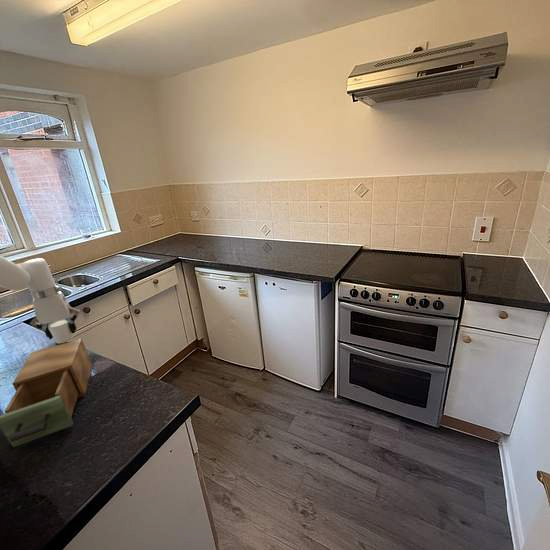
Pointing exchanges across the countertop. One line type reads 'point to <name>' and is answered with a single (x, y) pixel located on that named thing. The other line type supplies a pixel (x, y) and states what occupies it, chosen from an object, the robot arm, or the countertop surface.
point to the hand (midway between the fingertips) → (62, 334)
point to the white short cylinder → (61, 331)
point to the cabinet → (58, 364)
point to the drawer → (40, 408)
